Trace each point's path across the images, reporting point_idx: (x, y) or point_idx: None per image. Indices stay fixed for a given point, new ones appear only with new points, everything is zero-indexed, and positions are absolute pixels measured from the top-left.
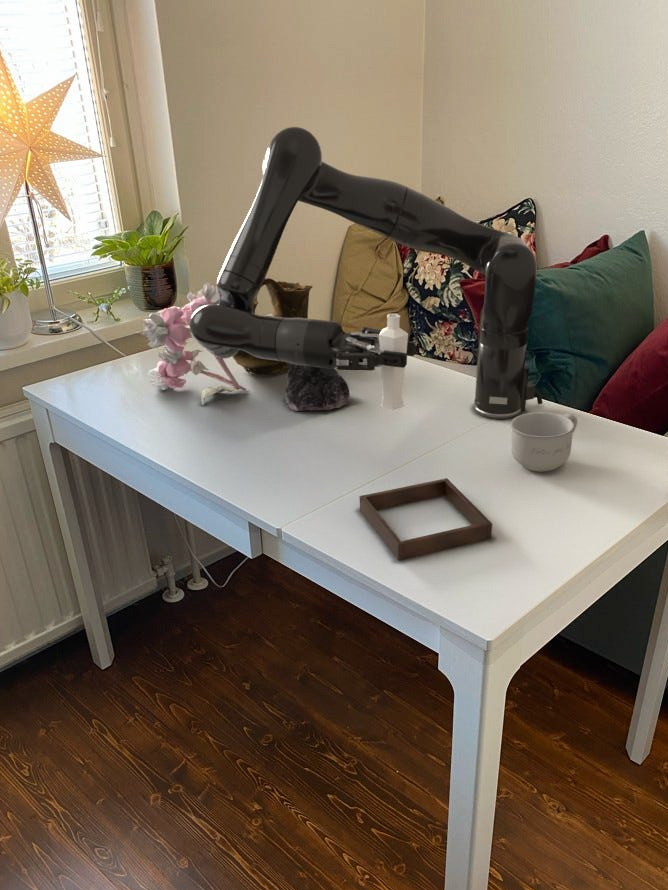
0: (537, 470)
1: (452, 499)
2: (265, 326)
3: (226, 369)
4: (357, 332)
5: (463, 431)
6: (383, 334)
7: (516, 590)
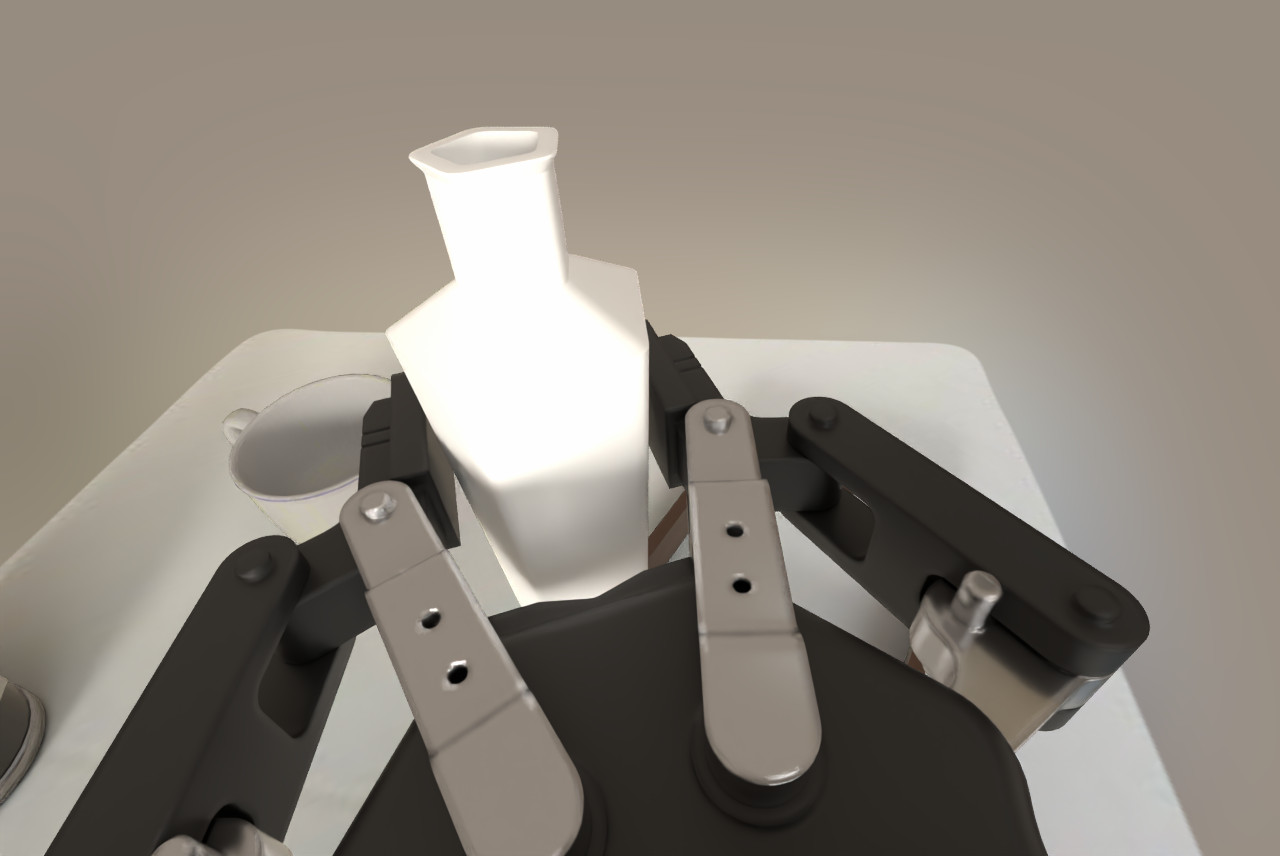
0: None
1: (667, 553)
2: None
3: None
4: (461, 789)
5: None
6: (630, 321)
7: (842, 363)
